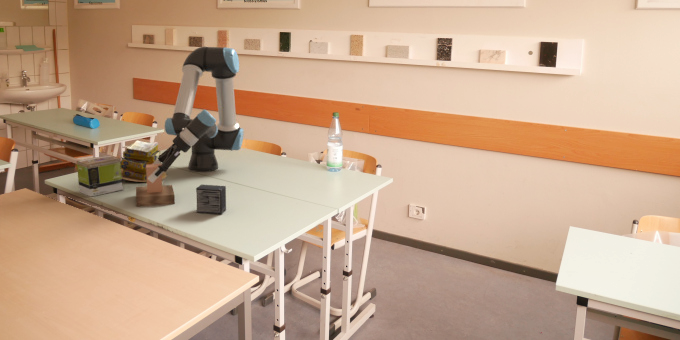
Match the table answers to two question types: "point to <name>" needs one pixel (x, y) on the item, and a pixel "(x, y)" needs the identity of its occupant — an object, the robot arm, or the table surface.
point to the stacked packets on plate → (139, 160)
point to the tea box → (99, 175)
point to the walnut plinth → (155, 196)
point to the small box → (211, 199)
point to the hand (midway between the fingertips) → (149, 176)
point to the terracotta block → (157, 184)
